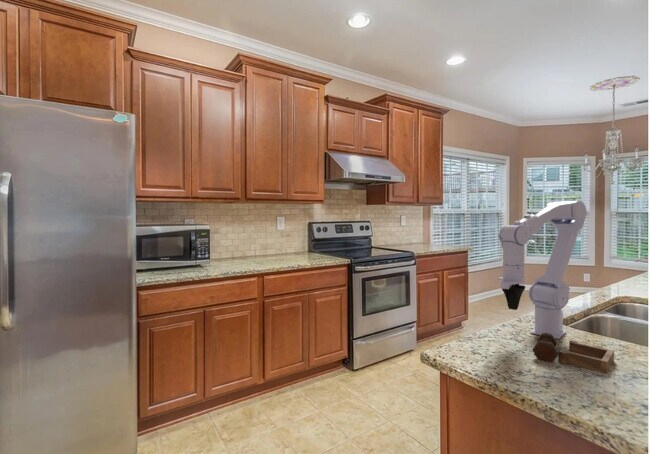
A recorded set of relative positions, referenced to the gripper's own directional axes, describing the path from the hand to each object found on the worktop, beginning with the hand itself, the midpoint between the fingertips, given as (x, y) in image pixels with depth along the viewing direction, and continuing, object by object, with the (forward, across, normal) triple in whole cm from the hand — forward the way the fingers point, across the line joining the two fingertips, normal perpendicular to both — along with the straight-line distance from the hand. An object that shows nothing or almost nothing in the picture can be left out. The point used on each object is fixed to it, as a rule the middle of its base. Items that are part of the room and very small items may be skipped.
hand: (513, 309), depth 106 cm
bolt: (+10, +3, +10) cm, 14 cm away
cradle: (+10, +2, +18) cm, 21 cm away
